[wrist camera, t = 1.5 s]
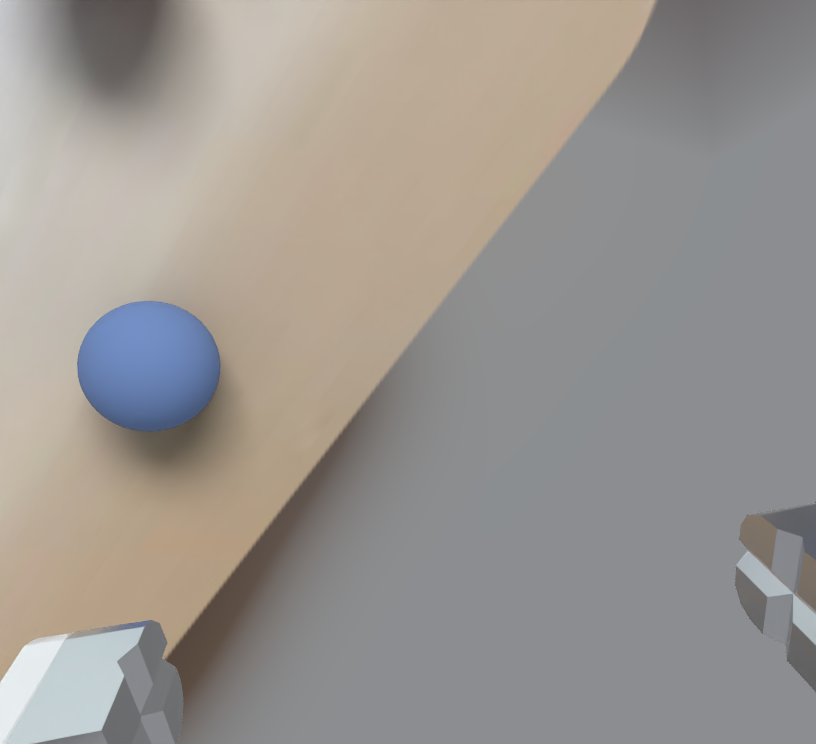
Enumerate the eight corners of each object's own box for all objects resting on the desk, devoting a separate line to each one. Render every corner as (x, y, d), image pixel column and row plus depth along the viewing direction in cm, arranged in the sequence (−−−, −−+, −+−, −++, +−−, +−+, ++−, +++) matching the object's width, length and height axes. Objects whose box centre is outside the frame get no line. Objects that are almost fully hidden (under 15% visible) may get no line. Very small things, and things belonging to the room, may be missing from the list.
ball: (108, 402, 30) (64, 455, 24) (96, 287, 28) (45, 316, 22) (229, 402, 31) (213, 453, 25) (225, 292, 29) (207, 319, 23)
